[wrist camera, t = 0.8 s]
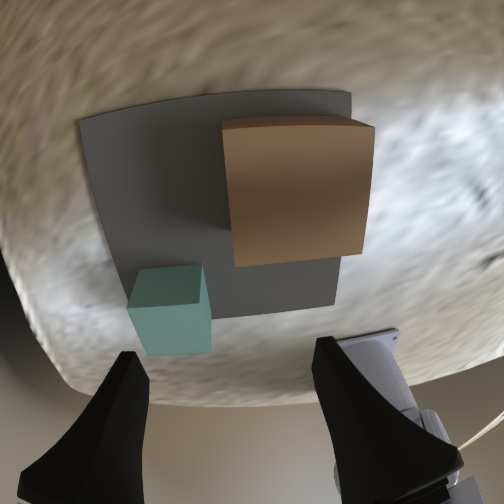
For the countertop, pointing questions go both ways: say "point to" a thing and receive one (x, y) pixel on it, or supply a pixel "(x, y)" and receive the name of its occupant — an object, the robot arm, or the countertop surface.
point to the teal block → (171, 310)
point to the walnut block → (297, 186)
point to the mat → (196, 197)
